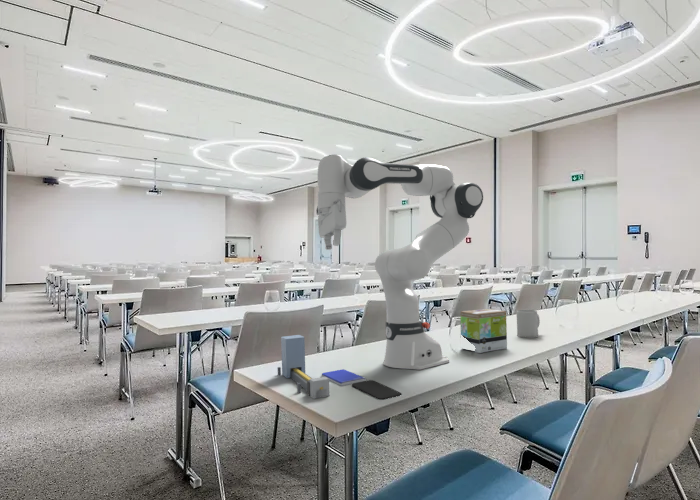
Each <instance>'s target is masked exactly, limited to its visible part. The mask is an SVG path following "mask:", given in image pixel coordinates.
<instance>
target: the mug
mask: <svg viewBox="0 0 700 500" xmlns="http://www.w3.org/2000/svg"><path fill="white" fill-rule="evenodd" d="M515 313H516V335H517V337H520V338H530V339H531V338H537V337H539V327H540V323H541V322H540V321H541V320H540V316H539V314H538V311H537V310H534V309H518V310H516V312H515Z"/></svg>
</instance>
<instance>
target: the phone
mask: <svg viewBox="0 0 700 500" xmlns="http://www.w3.org/2000/svg"><path fill="white" fill-rule="evenodd" d="M351 387H352V388H354V389H355V390H358V391H360V392H362V393H364V394H366V395H368V396H370V397H372V398H373V399H374V398H375V399H377V400H380V401H381V400H383V401H384V400H387V399H388V398H389V399H392V397H393V398H397V397H400V395H401V396H402V392H400V391H399V390H396V389H395V388H392V387H389V386H388V385H385V384H383V383H380V382H379V381H376V380H373V379H369V380H366V381H363V382H358V383H353V384H351ZM396 396H397V397H396ZM389 399H388V400H389Z"/></svg>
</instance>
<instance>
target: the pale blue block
mask: <svg viewBox="0 0 700 500" xmlns="http://www.w3.org/2000/svg"><path fill="white" fill-rule="evenodd" d="M280 338H281V339H280V343H281V345H280V347H281V375H282V376H283V377H285V379H290V378H291V377H290V368H298V369H300V370H301V371H303V372H304V373H305V374H306V351H305V350H306V349H305V345H306V343H305V342H306V341H305V336H303V335H301V334H295V335H294V334H293V335H287V336H281V337H280ZM291 379H292V378H291Z"/></svg>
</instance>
